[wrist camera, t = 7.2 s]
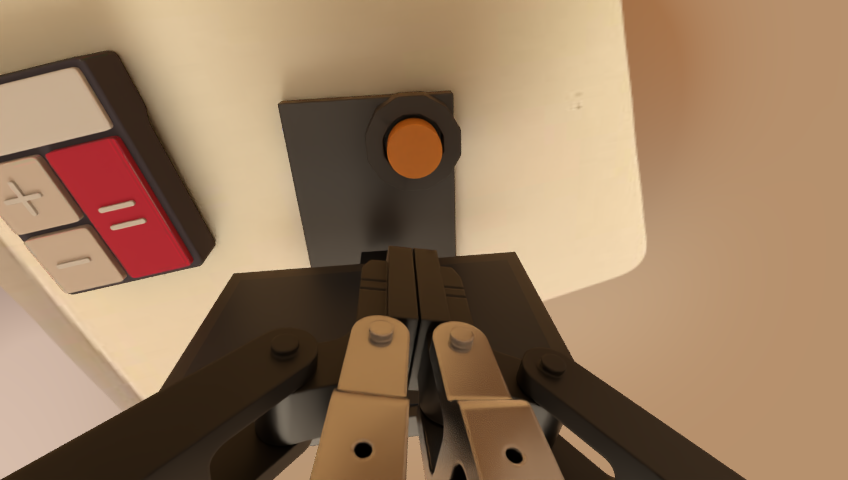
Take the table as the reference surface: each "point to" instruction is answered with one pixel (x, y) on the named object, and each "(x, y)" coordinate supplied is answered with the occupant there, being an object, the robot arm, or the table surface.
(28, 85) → the calculator
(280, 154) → the table surface
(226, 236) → the table surface
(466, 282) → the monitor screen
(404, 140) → the power button
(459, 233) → the table surface
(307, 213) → the monitor base
